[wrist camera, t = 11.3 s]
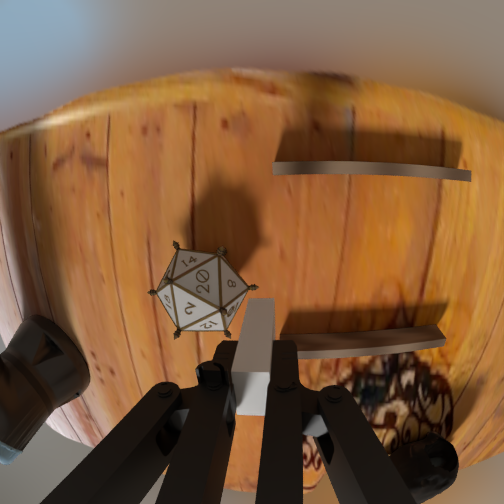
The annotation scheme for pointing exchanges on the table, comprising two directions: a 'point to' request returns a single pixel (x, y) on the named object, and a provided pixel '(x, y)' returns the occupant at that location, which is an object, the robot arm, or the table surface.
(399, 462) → the black rounded lump
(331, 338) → the walnut channel
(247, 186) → the table surface
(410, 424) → the table surface
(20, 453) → the robot arm
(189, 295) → the game die
